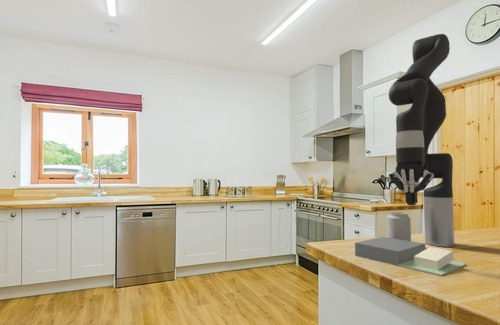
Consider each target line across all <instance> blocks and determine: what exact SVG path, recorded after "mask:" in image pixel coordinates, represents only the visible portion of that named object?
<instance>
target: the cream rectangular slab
mask: <svg viewBox="0 0 500 325" xmlns="http://www.w3.org/2000/svg"><path fill="white" fill-rule="evenodd" d="M414 261H415V265H417V266H421V267H425V268H429V269H434V270H439V269H441V268H442V267H444V266H445V265H447V264H448V263H450V262H451V261H455V260H454V252H453V250H449V249H448V250H447V249H443V248H437V247H432V246H430V247H428V248H425V250H424V251H422V252H420V253H419V254H417V255H415V256H414Z"/></svg>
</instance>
